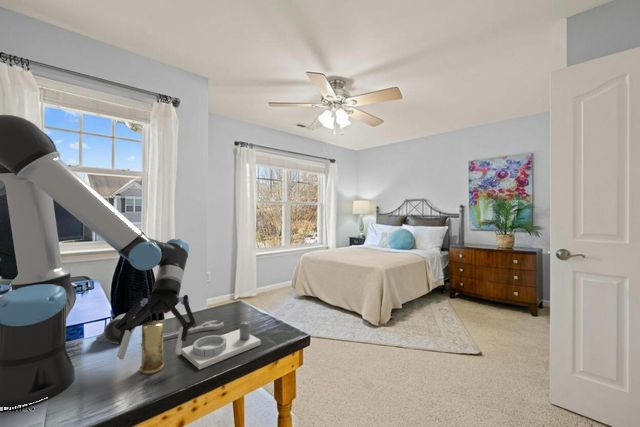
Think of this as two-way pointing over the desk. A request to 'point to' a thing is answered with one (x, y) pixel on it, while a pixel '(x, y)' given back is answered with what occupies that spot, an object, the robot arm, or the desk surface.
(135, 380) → the desk surface
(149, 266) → the robot arm
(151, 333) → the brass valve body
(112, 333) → the ceramic mug
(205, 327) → the adjustable wrench
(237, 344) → the board
